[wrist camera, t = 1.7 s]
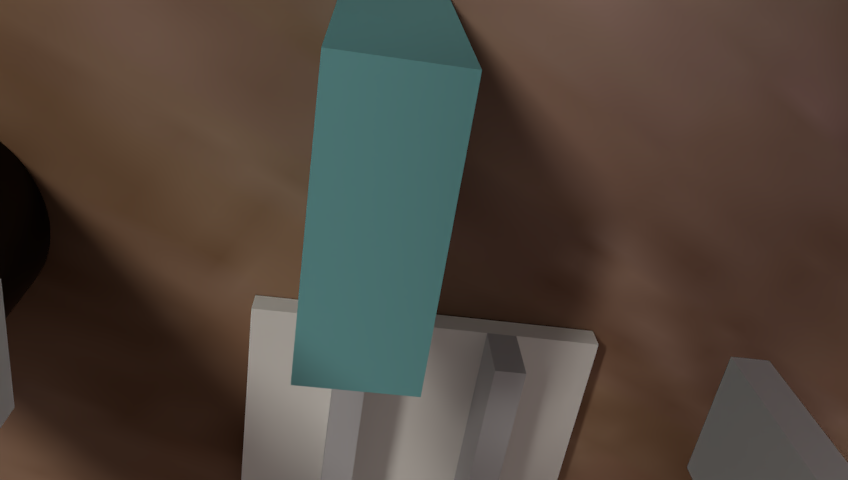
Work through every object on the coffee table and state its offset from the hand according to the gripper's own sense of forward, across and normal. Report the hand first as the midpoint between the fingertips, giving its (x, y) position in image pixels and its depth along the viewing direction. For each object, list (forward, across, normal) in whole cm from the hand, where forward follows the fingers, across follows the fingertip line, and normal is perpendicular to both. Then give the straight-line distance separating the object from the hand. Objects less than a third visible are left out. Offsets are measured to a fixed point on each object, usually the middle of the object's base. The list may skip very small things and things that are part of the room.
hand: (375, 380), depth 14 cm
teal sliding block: (+15, 0, 0) cm, 15 cm away
